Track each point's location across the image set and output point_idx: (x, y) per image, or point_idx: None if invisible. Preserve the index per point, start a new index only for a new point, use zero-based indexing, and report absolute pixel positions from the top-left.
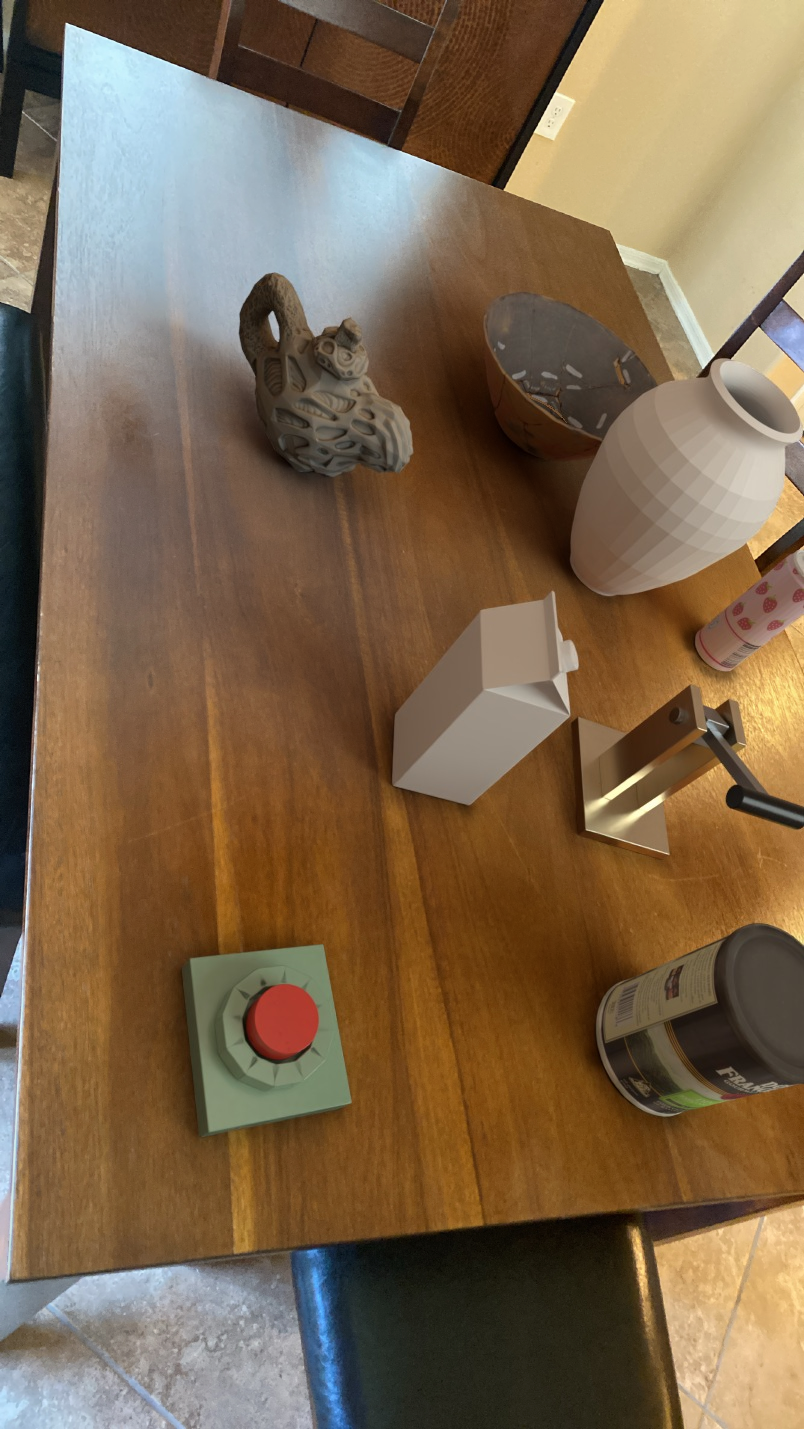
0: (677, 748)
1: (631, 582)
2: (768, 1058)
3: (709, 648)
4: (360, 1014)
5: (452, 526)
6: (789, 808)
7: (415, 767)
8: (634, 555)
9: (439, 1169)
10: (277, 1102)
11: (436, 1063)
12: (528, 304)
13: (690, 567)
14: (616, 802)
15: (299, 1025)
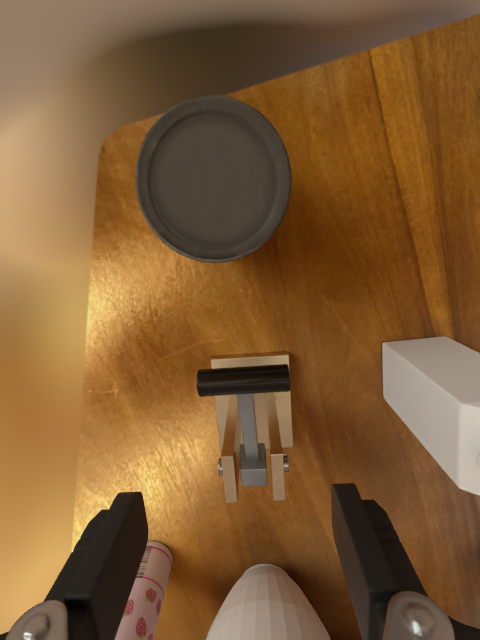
0: (273, 432)
1: (264, 586)
2: (245, 108)
3: (164, 557)
4: (464, 163)
5: None
6: (224, 384)
7: (461, 345)
8: (289, 614)
9: (402, 72)
10: None
11: (405, 144)
12: None
13: (238, 629)
14: None
15: None
